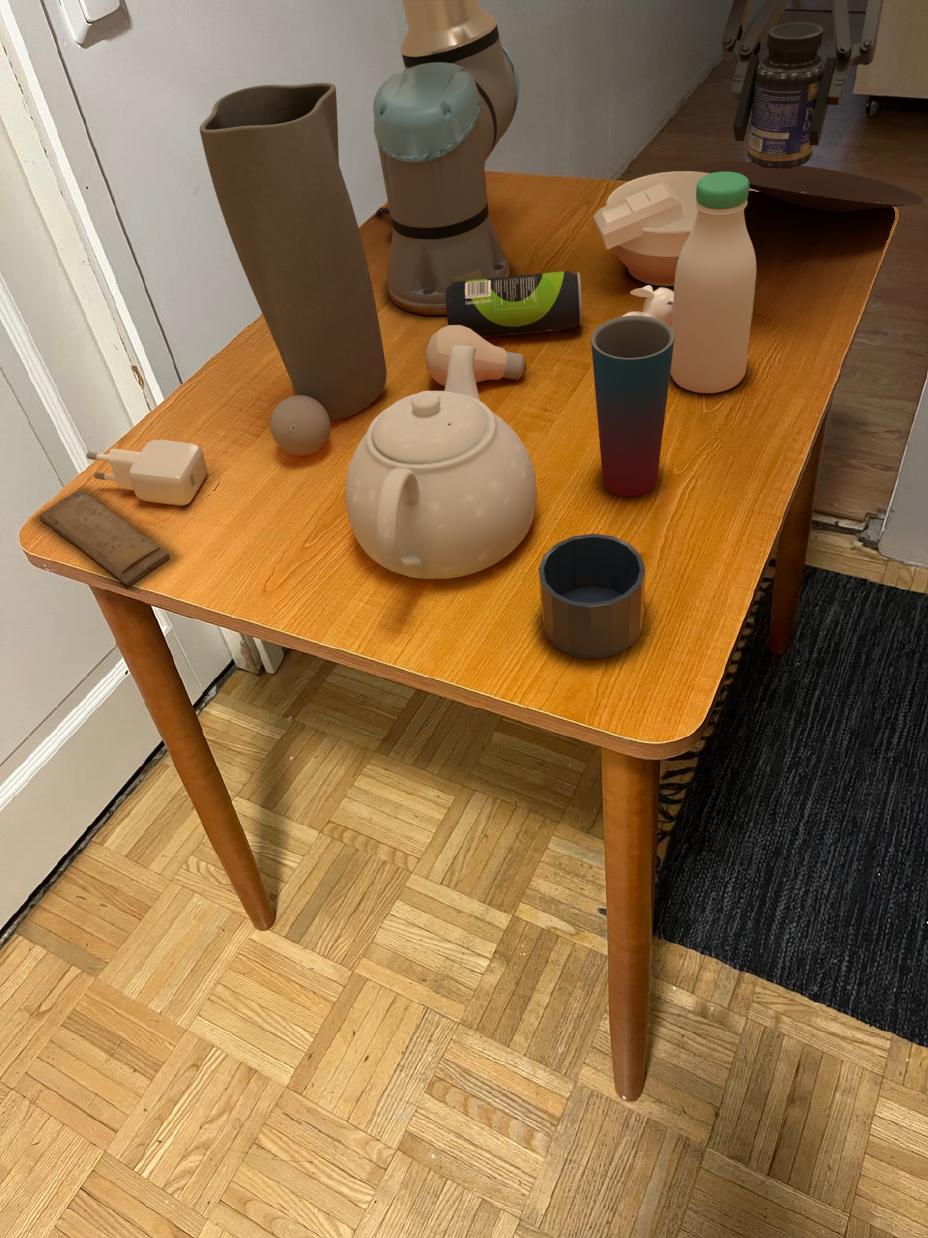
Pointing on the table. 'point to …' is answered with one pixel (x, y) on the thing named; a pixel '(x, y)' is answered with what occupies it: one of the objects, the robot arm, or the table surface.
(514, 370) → the light bulb
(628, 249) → the bowl
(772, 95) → the pill bottle
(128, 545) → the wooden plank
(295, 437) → the ball
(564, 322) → the beverage can
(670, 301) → the elephant figurine
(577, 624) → the cylindrical container
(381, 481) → the teapot
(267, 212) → the vase
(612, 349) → the cup
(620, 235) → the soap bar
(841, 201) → the plate
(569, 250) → the table surface
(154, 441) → the power adapter
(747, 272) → the milk bottle
